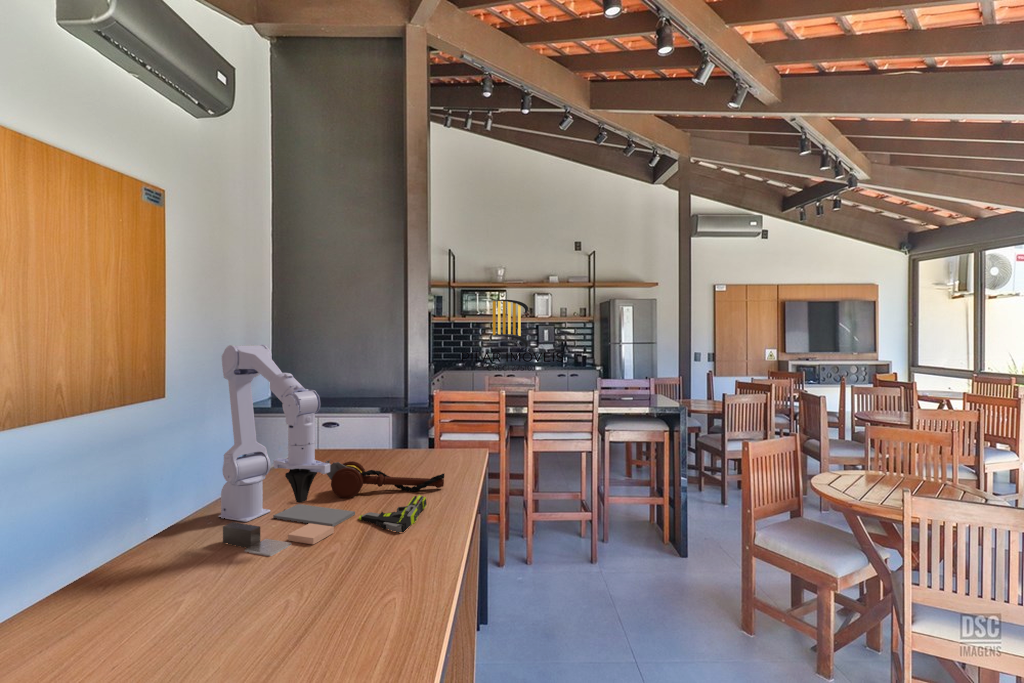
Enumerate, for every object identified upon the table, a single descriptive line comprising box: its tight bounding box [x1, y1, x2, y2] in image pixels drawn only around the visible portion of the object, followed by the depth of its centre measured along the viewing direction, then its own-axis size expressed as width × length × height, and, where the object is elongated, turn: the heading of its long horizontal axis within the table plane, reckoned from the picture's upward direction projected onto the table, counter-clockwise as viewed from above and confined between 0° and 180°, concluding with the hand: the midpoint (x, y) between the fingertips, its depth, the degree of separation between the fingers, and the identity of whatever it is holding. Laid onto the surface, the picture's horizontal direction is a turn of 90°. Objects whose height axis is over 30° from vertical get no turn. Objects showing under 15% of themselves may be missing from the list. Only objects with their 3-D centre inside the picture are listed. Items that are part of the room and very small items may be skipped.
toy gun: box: [358, 494, 427, 533], centre depth 128 cm, size 20×4×15 cm
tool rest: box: [272, 503, 356, 528], centre depth 128 cm, size 18×9×1 cm, turn 72°
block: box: [287, 523, 335, 545], centre depth 115 cm, size 2×7×7 cm
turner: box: [222, 521, 292, 557], centre depth 111 cm, size 15×6×4 cm, turn 72°
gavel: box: [324, 458, 445, 499], centre depth 149 cm, size 10×34×10 cm
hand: (301, 501), depth 116 cm, fingers closed
